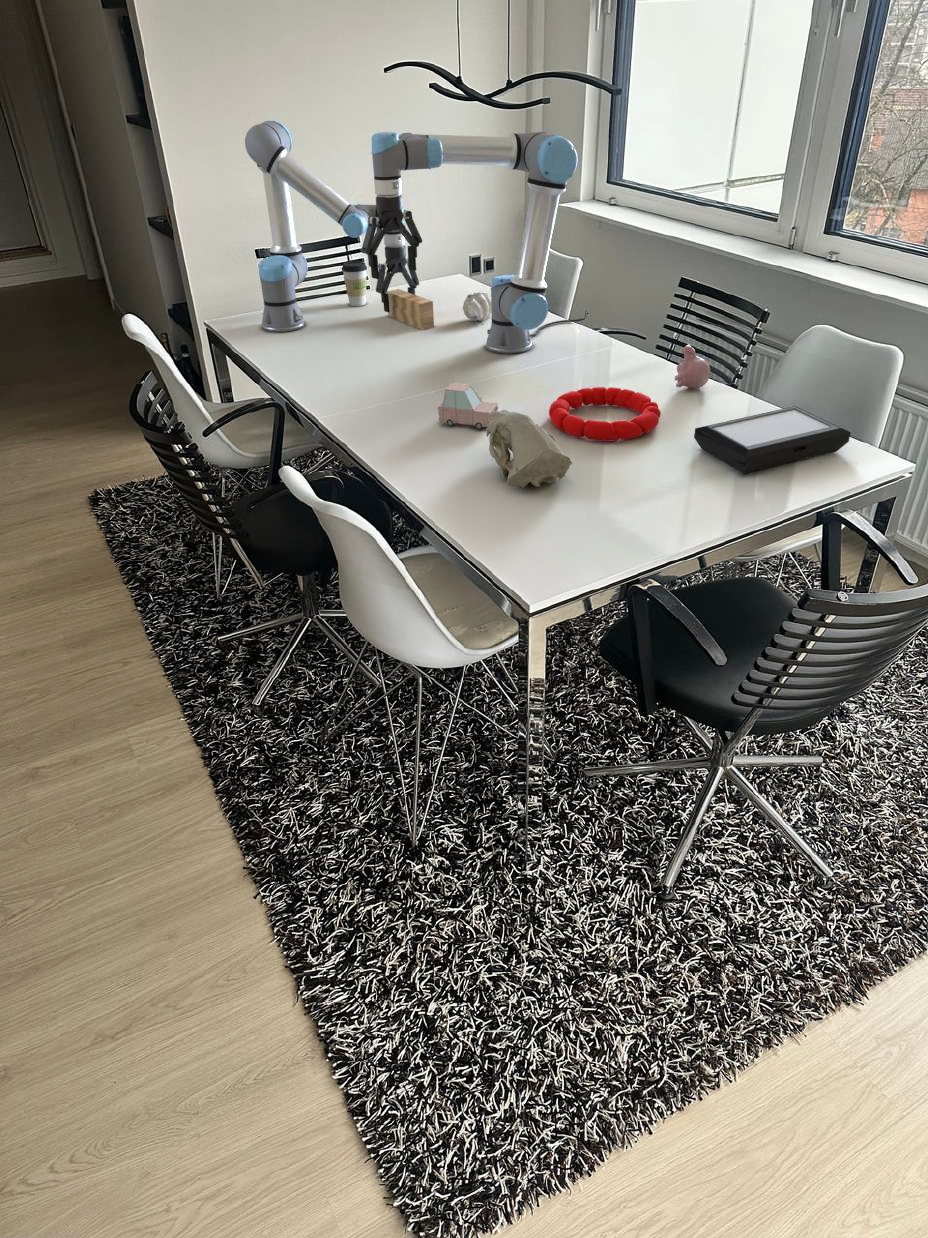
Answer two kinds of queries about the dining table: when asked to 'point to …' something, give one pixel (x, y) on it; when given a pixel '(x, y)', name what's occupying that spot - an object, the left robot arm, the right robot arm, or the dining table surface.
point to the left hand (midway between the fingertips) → (399, 308)
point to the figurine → (692, 370)
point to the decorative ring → (604, 428)
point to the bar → (411, 309)
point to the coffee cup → (355, 282)
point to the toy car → (465, 406)
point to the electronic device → (771, 439)
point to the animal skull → (525, 450)
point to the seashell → (477, 306)
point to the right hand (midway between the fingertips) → (394, 273)
